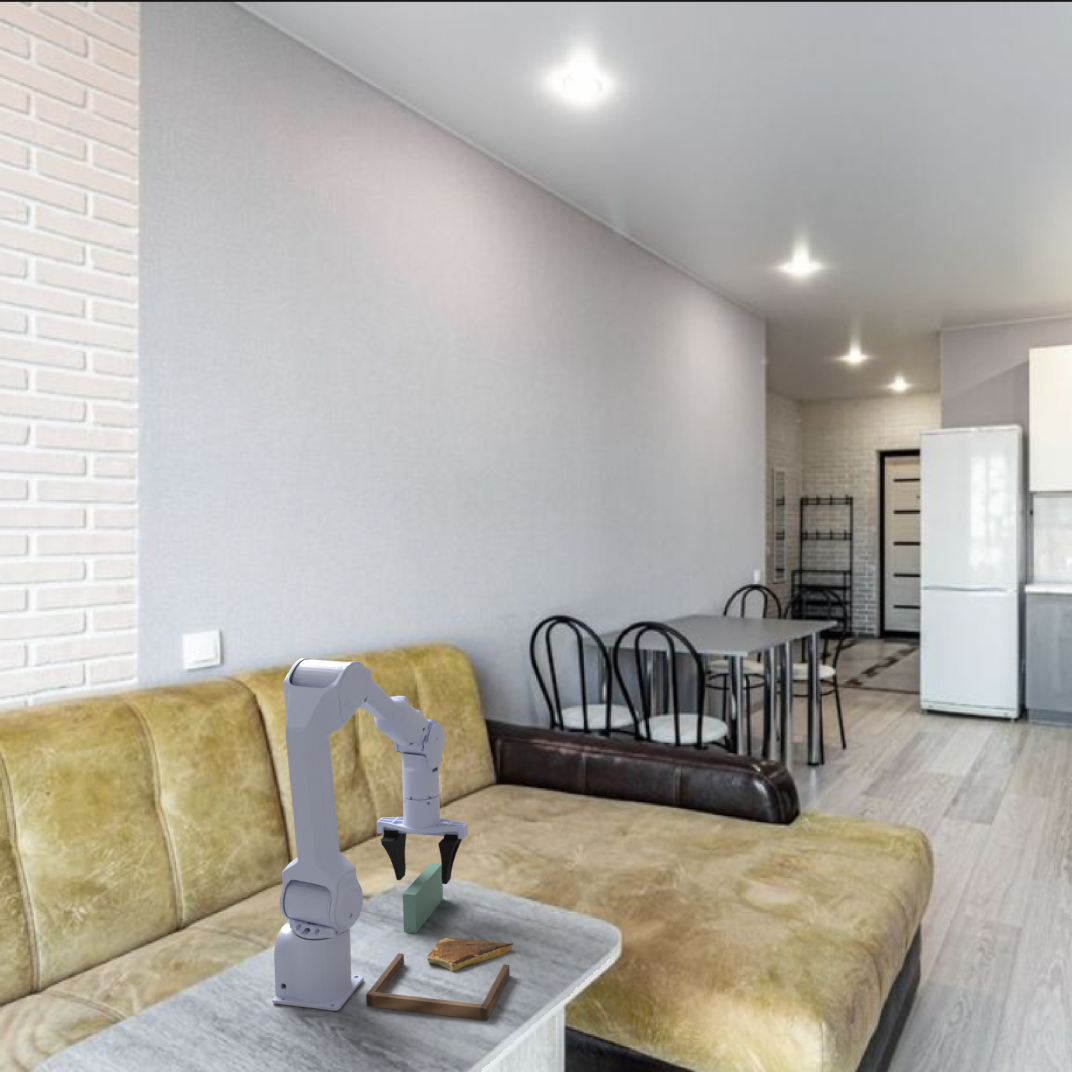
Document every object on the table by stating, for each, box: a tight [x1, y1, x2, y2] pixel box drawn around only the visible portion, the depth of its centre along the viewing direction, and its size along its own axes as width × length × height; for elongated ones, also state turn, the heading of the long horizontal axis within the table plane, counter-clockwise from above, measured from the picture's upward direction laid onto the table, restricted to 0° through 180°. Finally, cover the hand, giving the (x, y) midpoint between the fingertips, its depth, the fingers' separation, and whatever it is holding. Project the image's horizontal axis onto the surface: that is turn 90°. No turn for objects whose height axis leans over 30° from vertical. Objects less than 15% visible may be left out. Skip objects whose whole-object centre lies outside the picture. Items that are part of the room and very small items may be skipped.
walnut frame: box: [365, 952, 510, 1021], centre depth 118 cm, size 16×11×2 cm
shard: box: [427, 937, 514, 973], centre depth 126 cm, size 11×8×2 cm
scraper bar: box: [402, 862, 444, 934], centre depth 140 cm, size 12×2×6 cm, turn 166°
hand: (423, 879), depth 140 cm, fingers open, 7 cm apart
